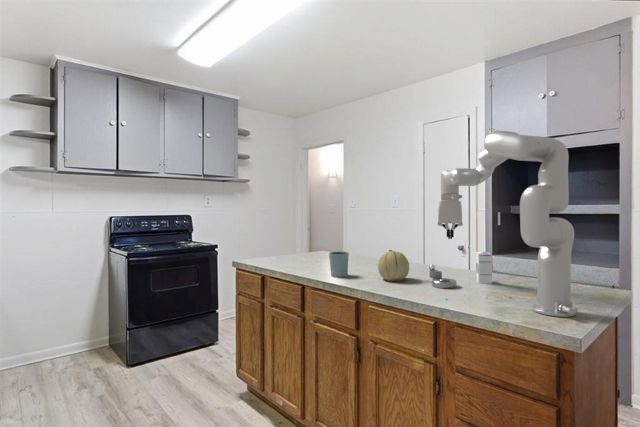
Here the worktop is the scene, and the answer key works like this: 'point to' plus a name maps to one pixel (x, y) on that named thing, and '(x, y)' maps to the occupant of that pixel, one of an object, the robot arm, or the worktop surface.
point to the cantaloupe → (393, 266)
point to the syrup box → (484, 267)
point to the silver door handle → (440, 279)
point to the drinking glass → (339, 264)
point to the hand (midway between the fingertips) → (450, 238)
